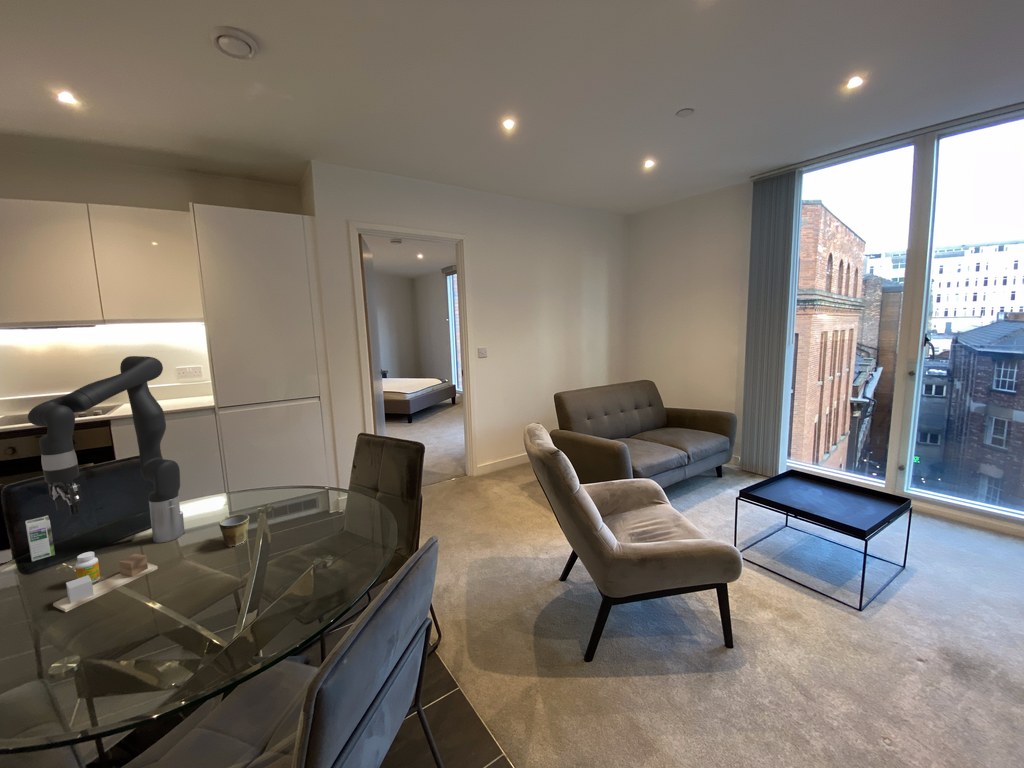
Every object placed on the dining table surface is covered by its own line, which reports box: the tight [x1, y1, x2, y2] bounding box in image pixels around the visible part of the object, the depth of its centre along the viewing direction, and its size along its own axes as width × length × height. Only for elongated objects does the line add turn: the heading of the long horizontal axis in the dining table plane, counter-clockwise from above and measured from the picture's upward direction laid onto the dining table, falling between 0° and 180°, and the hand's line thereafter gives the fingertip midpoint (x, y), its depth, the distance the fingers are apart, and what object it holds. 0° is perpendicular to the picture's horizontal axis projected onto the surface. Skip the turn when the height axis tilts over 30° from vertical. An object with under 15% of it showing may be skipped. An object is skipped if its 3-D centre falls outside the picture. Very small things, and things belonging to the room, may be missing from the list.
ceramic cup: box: [218, 513, 250, 548], centre depth 163 cm, size 13×10×10 cm
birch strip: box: [52, 562, 158, 613], centre depth 135 cm, size 24×7×1 cm, turn 160°
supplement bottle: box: [74, 551, 101, 584], centre depth 136 cm, size 5×5×10 cm
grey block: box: [65, 575, 94, 603], centre depth 128 cm, size 5×5×5 cm
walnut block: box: [118, 553, 148, 577], centre depth 141 cm, size 5×5×5 cm
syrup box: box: [24, 515, 56, 562], centre depth 150 cm, size 6×6×14 cm
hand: (68, 511), depth 132 cm, fingers open, 8 cm apart
